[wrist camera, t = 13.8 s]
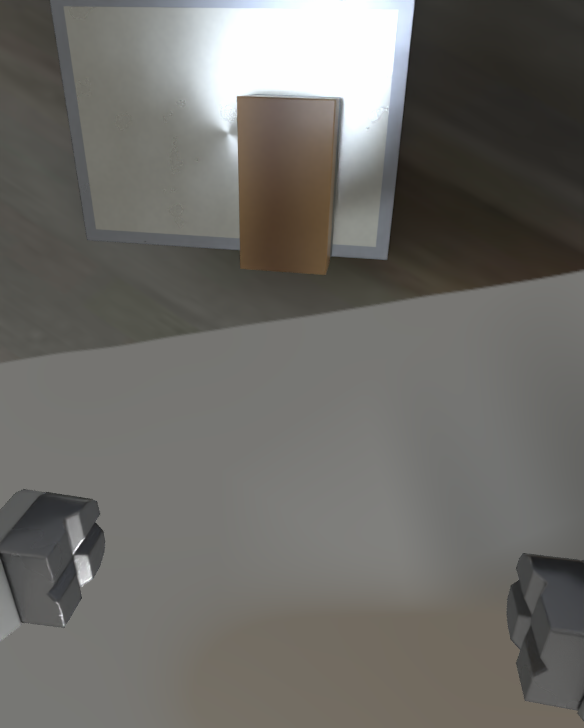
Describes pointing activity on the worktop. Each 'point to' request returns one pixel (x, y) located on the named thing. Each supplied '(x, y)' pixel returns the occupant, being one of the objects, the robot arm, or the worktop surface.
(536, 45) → the worktop surface
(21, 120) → the worktop surface
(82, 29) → the whiteboard
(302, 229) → the eraser
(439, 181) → the worktop surface
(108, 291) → the worktop surface
